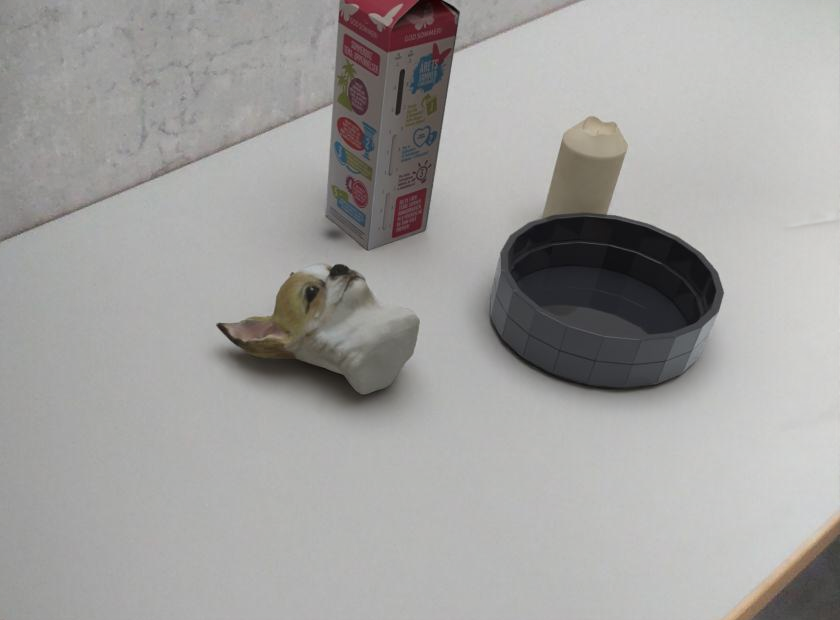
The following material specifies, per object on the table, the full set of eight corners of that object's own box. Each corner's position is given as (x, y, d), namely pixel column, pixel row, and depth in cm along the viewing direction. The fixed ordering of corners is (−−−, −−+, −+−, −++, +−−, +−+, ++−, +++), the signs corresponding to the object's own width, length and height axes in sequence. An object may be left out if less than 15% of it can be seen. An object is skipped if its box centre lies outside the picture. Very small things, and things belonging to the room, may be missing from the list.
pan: (602, 245, 86) (618, 194, 82) (745, 352, 77) (770, 300, 73) (448, 295, 80) (457, 243, 76) (581, 418, 71) (600, 365, 67)
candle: (529, 219, 89) (555, 113, 81) (581, 211, 90) (611, 106, 82) (557, 251, 85) (587, 143, 78) (611, 242, 86) (645, 136, 79)
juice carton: (382, 196, 90) (412, -66, 74) (426, 230, 87) (467, -38, 70) (325, 215, 88) (342, -53, 71) (367, 250, 84) (396, -23, 68)
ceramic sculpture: (375, 334, 62) (204, 260, 68) (369, 436, 68) (212, 360, 74) (461, 266, 68) (296, 203, 74) (448, 366, 74) (296, 300, 80)
